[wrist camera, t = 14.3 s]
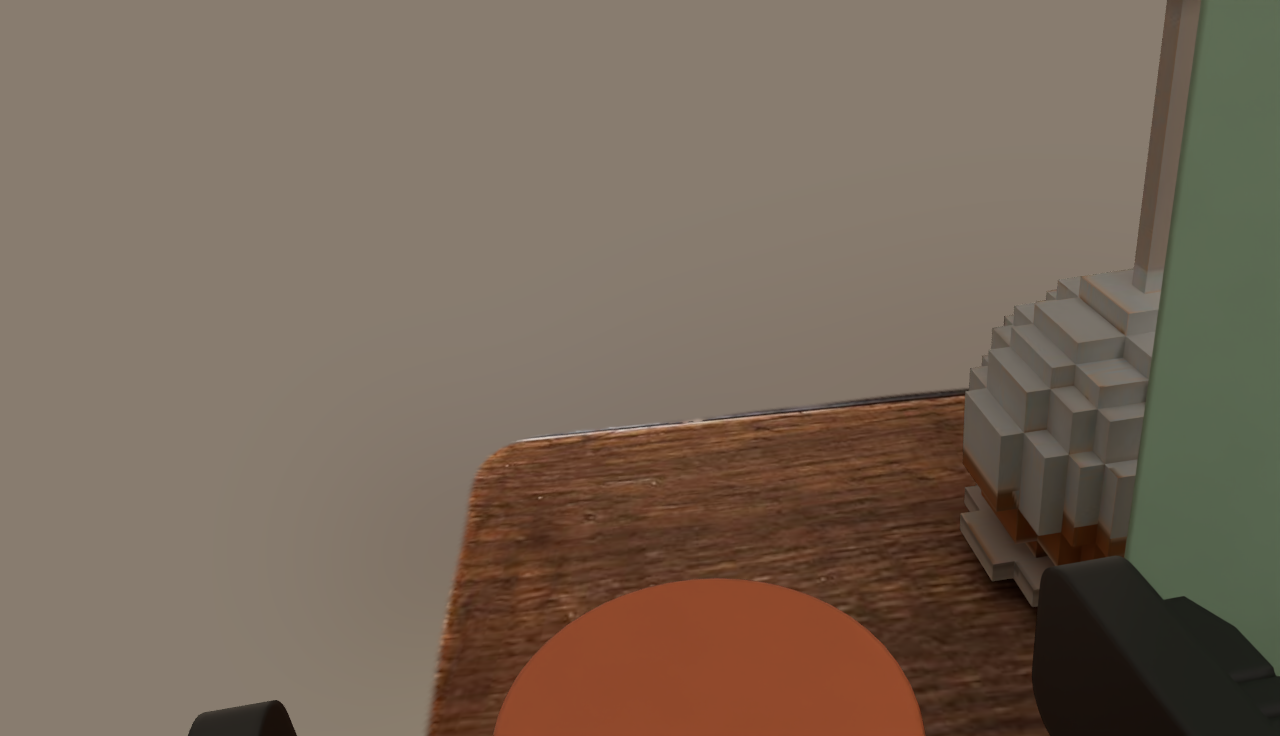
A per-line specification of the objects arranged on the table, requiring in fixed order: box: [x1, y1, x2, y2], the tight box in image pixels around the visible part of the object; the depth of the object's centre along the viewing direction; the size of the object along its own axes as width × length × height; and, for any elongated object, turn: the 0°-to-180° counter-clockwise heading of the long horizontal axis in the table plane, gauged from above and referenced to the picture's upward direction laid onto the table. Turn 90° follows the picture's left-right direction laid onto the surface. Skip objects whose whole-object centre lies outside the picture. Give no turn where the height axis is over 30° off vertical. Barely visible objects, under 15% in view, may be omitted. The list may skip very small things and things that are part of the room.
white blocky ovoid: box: [960, 0, 1201, 607], centre depth 24 cm, size 8×8×15 cm
